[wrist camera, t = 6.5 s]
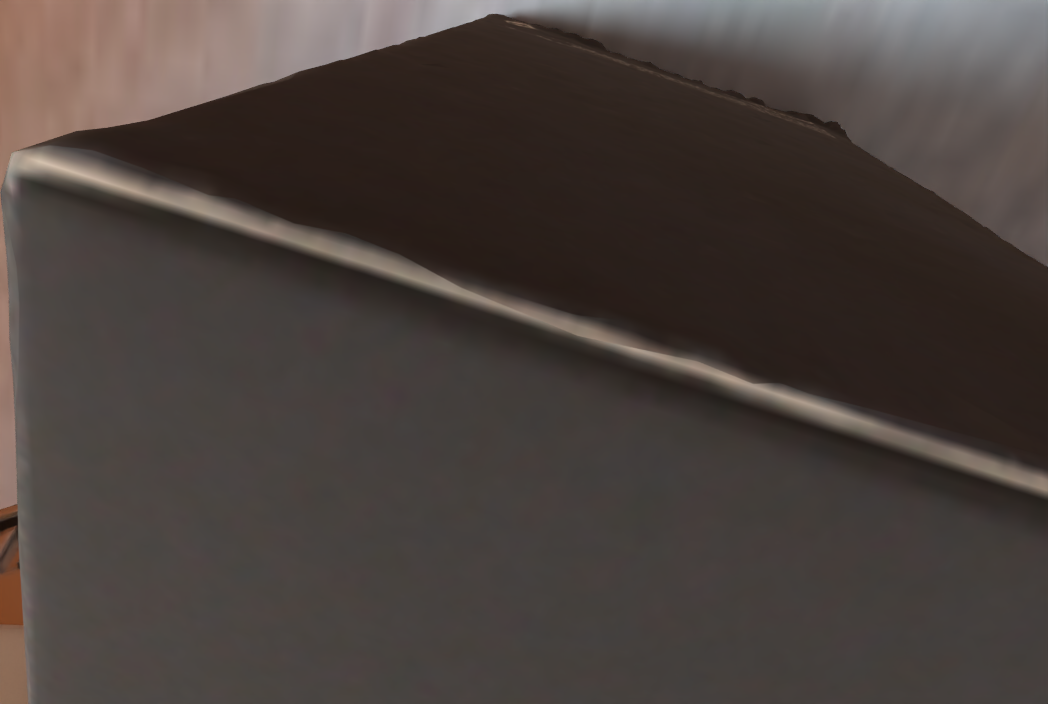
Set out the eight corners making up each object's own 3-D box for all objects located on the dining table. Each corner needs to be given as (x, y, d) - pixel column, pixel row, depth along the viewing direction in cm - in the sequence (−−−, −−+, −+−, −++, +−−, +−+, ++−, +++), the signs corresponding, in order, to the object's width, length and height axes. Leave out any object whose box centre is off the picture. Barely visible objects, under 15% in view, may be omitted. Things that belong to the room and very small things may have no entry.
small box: (461, -10, 11) (-195, 11, 2) (849, 124, 12) (1978, 710, 2) (340, 500, 16) (-8, 1232, 7) (617, 580, 16) (660, 1371, 7)
